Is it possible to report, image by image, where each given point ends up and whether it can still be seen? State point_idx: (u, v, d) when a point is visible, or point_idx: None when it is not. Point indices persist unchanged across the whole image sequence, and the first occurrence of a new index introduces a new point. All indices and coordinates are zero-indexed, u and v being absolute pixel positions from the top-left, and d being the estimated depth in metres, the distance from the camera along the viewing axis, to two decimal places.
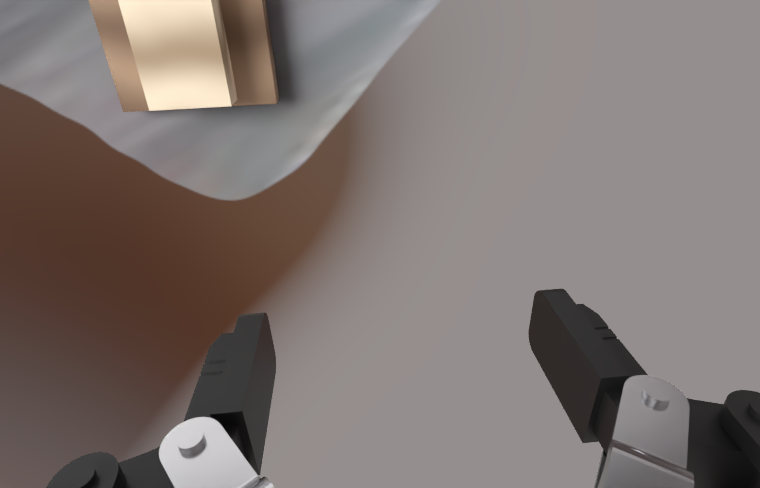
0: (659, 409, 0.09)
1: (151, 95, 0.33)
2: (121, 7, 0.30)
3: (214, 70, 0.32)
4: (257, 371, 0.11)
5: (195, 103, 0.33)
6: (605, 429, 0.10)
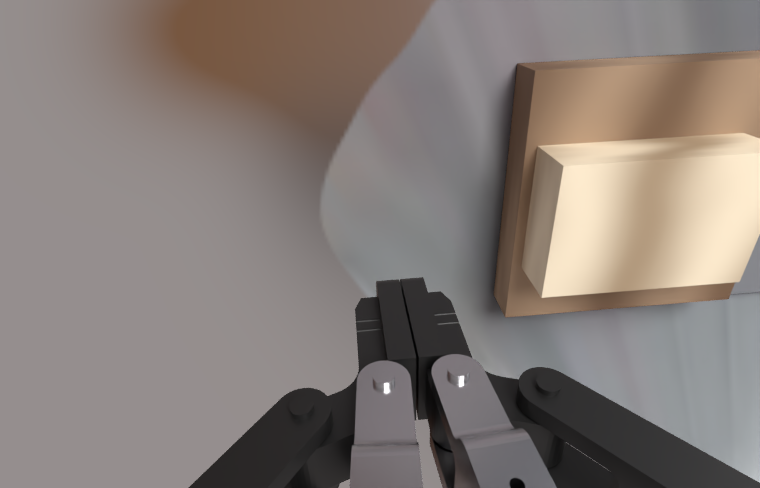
0: (455, 384, 0.10)
1: (589, 175, 0.17)
2: (738, 156, 0.17)
3: (602, 279, 0.19)
4: None
5: (558, 246, 0.18)
6: (427, 406, 0.11)
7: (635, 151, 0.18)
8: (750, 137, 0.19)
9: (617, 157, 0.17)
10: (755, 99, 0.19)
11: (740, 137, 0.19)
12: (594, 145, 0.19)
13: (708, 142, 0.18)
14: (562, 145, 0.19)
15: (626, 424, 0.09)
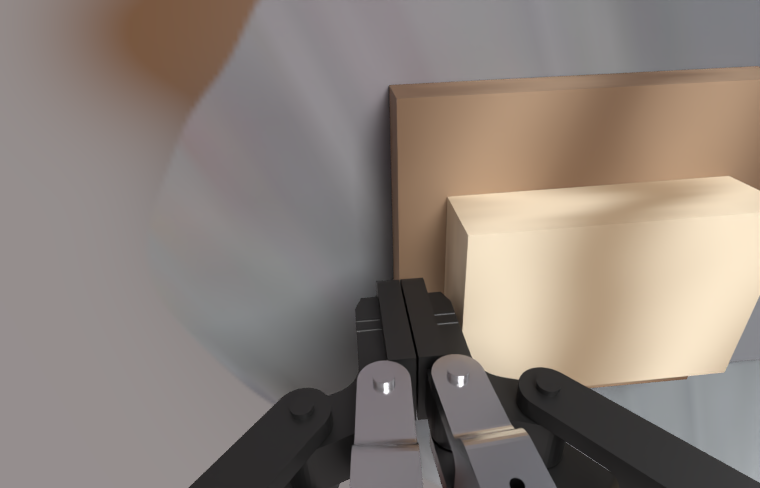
0: (455, 384, 0.10)
1: (507, 247, 0.12)
2: (718, 219, 0.12)
3: None
4: None
5: (473, 337, 0.13)
6: (427, 406, 0.11)
7: (576, 208, 0.13)
8: (737, 184, 0.14)
9: (548, 219, 0.12)
10: (711, 137, 0.14)
11: (724, 183, 0.14)
12: (523, 196, 0.14)
13: (679, 192, 0.13)
14: (481, 196, 0.14)
15: (626, 424, 0.09)
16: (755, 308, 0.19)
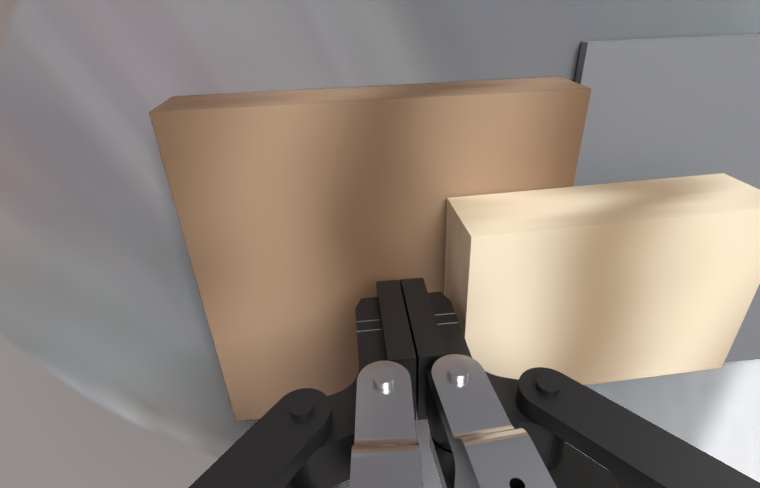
0: (455, 384, 0.10)
1: (509, 247, 0.12)
2: (717, 216, 0.12)
3: None
4: None
5: (476, 338, 0.13)
6: (427, 406, 0.11)
7: (577, 207, 0.13)
8: (732, 181, 0.14)
9: (550, 219, 0.12)
10: (497, 150, 0.13)
11: (720, 181, 0.14)
12: (523, 196, 0.13)
13: (677, 190, 0.13)
14: (480, 196, 0.14)
15: (626, 424, 0.09)
16: None
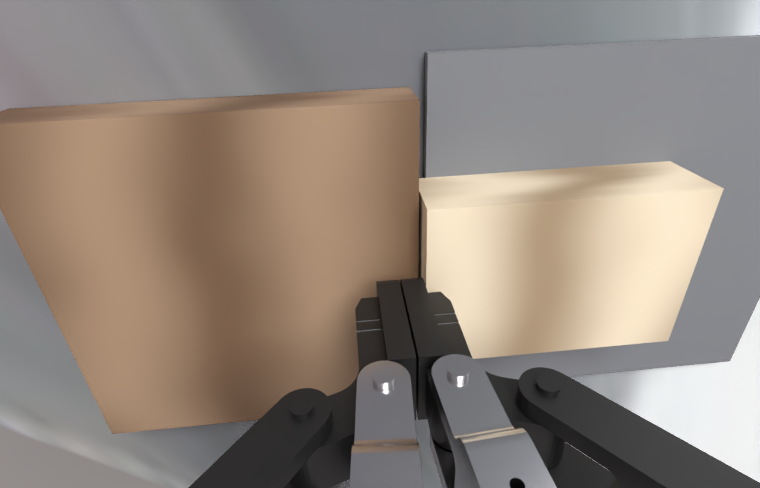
0: (455, 384, 0.10)
1: (462, 221, 0.13)
2: (651, 196, 0.13)
3: (497, 341, 0.16)
4: None
5: None
6: (427, 406, 0.11)
7: (527, 188, 0.14)
8: (675, 167, 0.15)
9: (501, 197, 0.14)
10: (332, 162, 0.13)
11: (664, 167, 0.15)
12: (482, 178, 0.15)
13: (622, 174, 0.15)
14: (444, 178, 0.15)
15: (626, 424, 0.09)
16: None
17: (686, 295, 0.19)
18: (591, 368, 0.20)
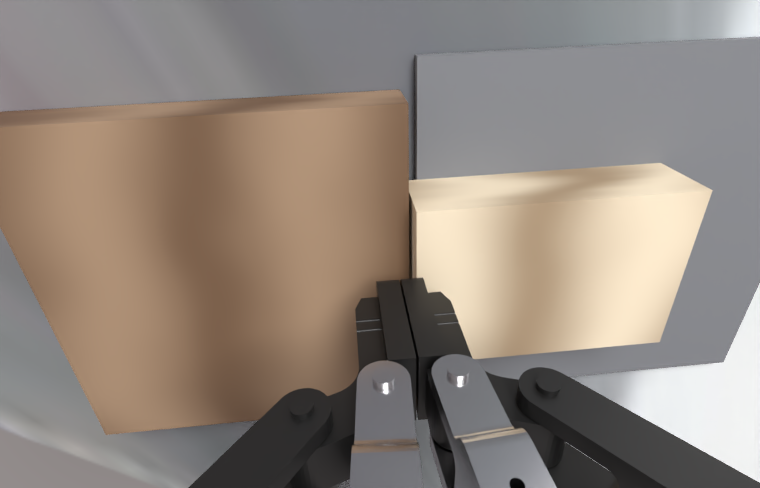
0: (455, 384, 0.10)
1: (452, 222, 0.13)
2: (640, 198, 0.14)
3: (489, 342, 0.16)
4: None
5: None
6: (427, 406, 0.11)
7: (517, 189, 0.14)
8: (666, 169, 0.15)
9: (490, 199, 0.14)
10: (322, 165, 0.13)
11: (654, 169, 0.15)
12: (473, 180, 0.15)
13: (612, 176, 0.15)
14: (435, 180, 0.15)
15: (626, 424, 0.09)
16: None
17: (678, 296, 0.19)
18: (584, 369, 0.21)
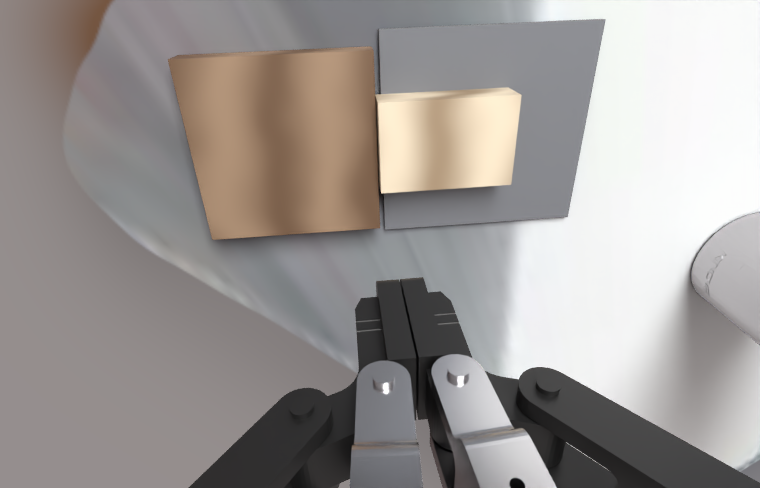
0: (455, 384, 0.10)
1: (395, 109, 0.28)
2: (486, 98, 0.28)
3: (418, 180, 0.30)
4: None
5: (385, 156, 0.29)
6: (428, 405, 0.11)
7: (429, 96, 0.29)
8: (507, 89, 0.30)
9: (414, 99, 0.28)
10: (333, 80, 0.28)
11: (502, 89, 0.30)
12: (409, 94, 0.30)
13: (479, 91, 0.29)
14: (390, 94, 0.30)
15: (626, 424, 0.09)
16: None
17: (532, 170, 0.33)
18: (484, 218, 0.35)
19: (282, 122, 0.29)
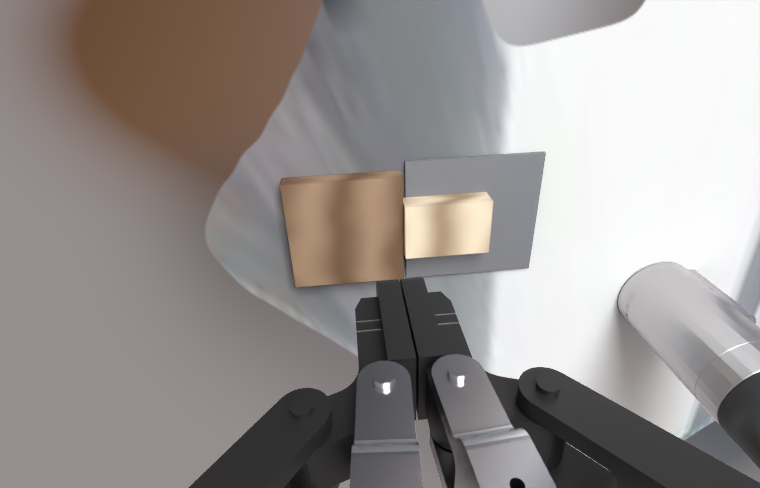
0: (455, 384, 0.10)
1: (415, 211, 0.45)
2: (471, 203, 0.46)
3: (429, 251, 0.48)
4: None
5: (408, 237, 0.47)
6: (427, 406, 0.11)
7: (436, 201, 0.46)
8: (485, 194, 0.47)
9: (427, 203, 0.46)
10: (377, 194, 0.45)
11: (482, 194, 0.47)
12: (423, 197, 0.47)
13: (467, 196, 0.47)
14: (411, 197, 0.47)
15: (626, 424, 0.09)
16: None
17: (503, 239, 0.51)
18: (472, 269, 0.53)
19: (345, 218, 0.46)
